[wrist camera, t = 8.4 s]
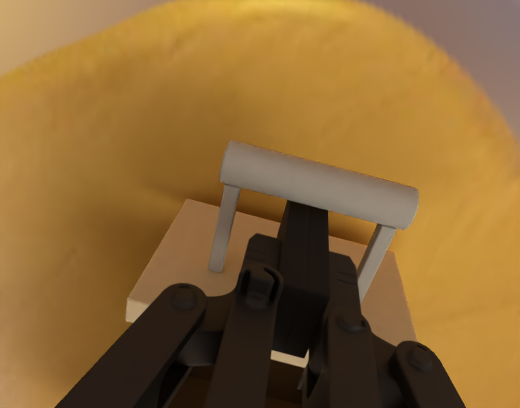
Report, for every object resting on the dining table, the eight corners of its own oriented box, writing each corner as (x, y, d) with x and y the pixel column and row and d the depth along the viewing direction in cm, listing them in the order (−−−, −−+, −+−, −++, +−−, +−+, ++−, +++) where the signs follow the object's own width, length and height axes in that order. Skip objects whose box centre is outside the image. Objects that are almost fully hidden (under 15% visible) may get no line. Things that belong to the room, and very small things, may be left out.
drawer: (202, 90, 19) (136, 157, 12) (443, 153, 19) (512, 255, 12) (161, 360, 28) (112, 481, 22) (320, 402, 28) (319, 535, 22)
